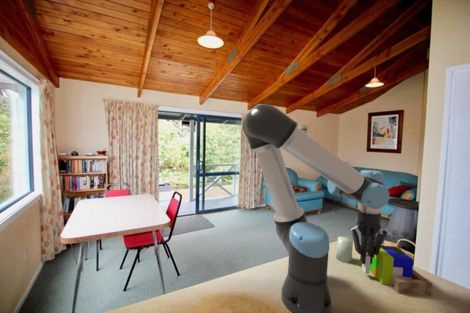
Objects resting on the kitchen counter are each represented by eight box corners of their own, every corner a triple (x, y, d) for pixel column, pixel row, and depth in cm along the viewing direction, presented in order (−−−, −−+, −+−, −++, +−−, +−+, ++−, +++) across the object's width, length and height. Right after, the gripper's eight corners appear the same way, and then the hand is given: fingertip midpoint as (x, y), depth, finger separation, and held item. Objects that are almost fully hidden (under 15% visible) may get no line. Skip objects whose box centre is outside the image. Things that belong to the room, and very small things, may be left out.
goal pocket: (397, 293, 75) (398, 281, 74) (368, 264, 93) (369, 255, 92) (431, 295, 74) (432, 284, 74) (395, 265, 92) (396, 256, 92)
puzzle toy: (411, 286, 78) (413, 259, 78) (381, 283, 79) (383, 257, 79) (393, 270, 88) (395, 246, 88) (367, 268, 89) (369, 244, 89)
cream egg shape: (339, 262, 93) (341, 241, 93) (334, 255, 99) (335, 236, 99) (354, 263, 93) (355, 242, 92) (347, 256, 99) (349, 236, 98)
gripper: (356, 213, 79) (352, 276, 81) (393, 215, 78) (389, 278, 80) (347, 207, 87) (343, 265, 88) (381, 209, 86) (377, 267, 87)
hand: (365, 271), depth 84 cm, fingers closed
